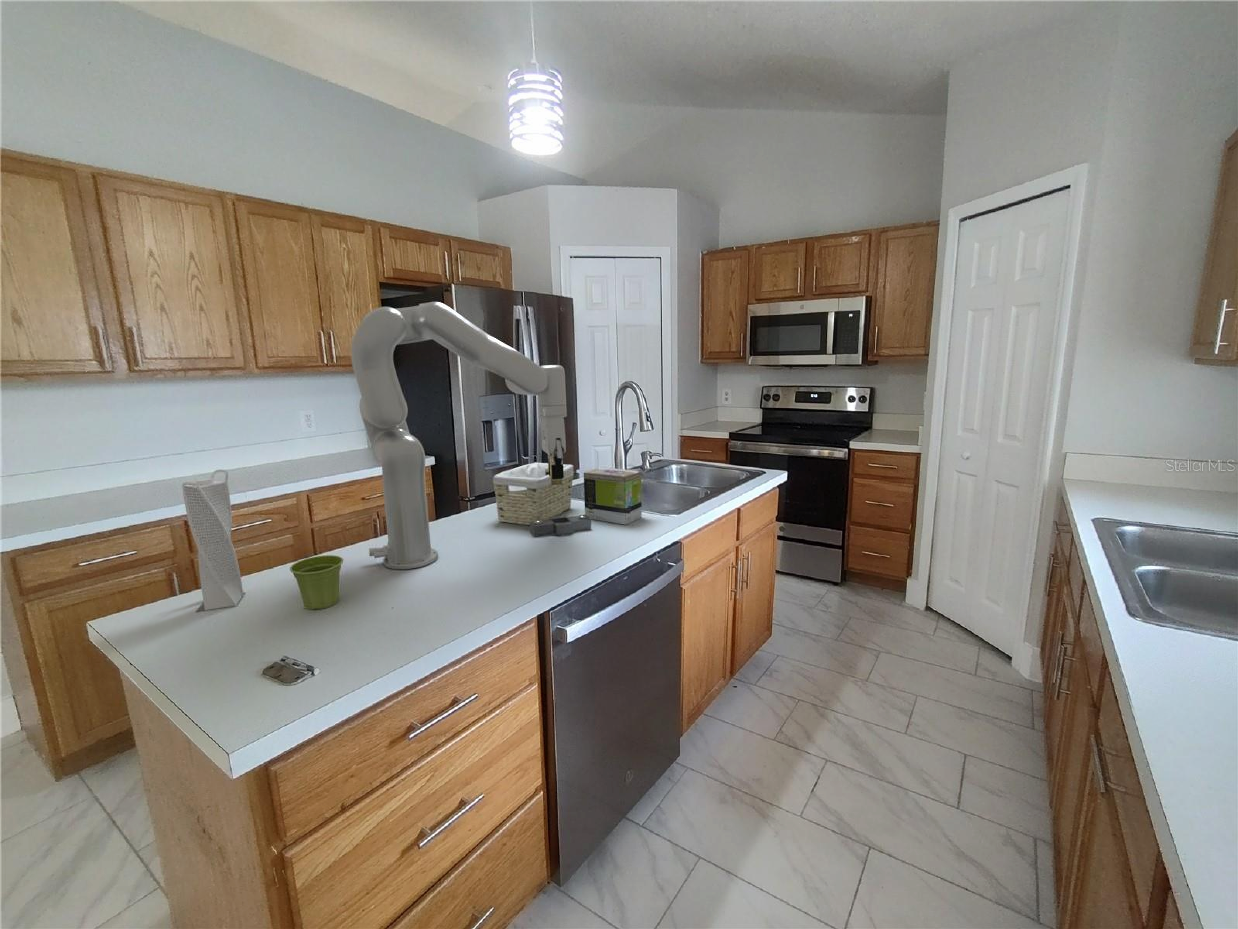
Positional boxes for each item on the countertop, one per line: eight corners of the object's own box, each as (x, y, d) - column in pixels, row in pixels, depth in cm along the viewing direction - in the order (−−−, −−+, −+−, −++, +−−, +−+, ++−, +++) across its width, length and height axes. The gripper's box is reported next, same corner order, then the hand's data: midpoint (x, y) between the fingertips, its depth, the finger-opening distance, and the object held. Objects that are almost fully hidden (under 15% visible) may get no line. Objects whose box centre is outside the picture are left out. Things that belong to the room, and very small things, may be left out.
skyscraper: (253, 593, 119) (234, 465, 113) (243, 608, 111) (222, 473, 106) (207, 599, 116) (184, 469, 110) (193, 616, 108) (169, 477, 103)
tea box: (642, 517, 169) (642, 470, 166) (625, 526, 161) (625, 476, 158) (602, 510, 177) (601, 465, 174) (583, 518, 169) (582, 471, 166)
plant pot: (357, 599, 114) (352, 560, 112) (312, 618, 106) (307, 576, 104) (330, 590, 119) (325, 552, 117) (285, 607, 111) (280, 567, 109)
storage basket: (534, 503, 187) (532, 460, 184) (577, 507, 181) (576, 463, 178) (492, 523, 165) (489, 475, 162) (539, 529, 159) (537, 479, 156)
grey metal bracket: (535, 538, 150) (534, 526, 150) (529, 529, 158) (528, 517, 158) (593, 531, 156) (592, 519, 155) (584, 522, 164) (584, 511, 163)
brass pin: (552, 485, 152) (550, 457, 150) (549, 483, 155) (548, 455, 153) (563, 484, 153) (562, 455, 151) (560, 481, 156) (559, 454, 154)
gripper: (533, 409, 156) (537, 472, 160) (545, 415, 141) (549, 485, 144) (559, 407, 158) (562, 470, 162) (573, 413, 143) (577, 482, 147)
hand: (556, 476), depth 153 cm, fingers closed on brass pin, 3 cm apart
